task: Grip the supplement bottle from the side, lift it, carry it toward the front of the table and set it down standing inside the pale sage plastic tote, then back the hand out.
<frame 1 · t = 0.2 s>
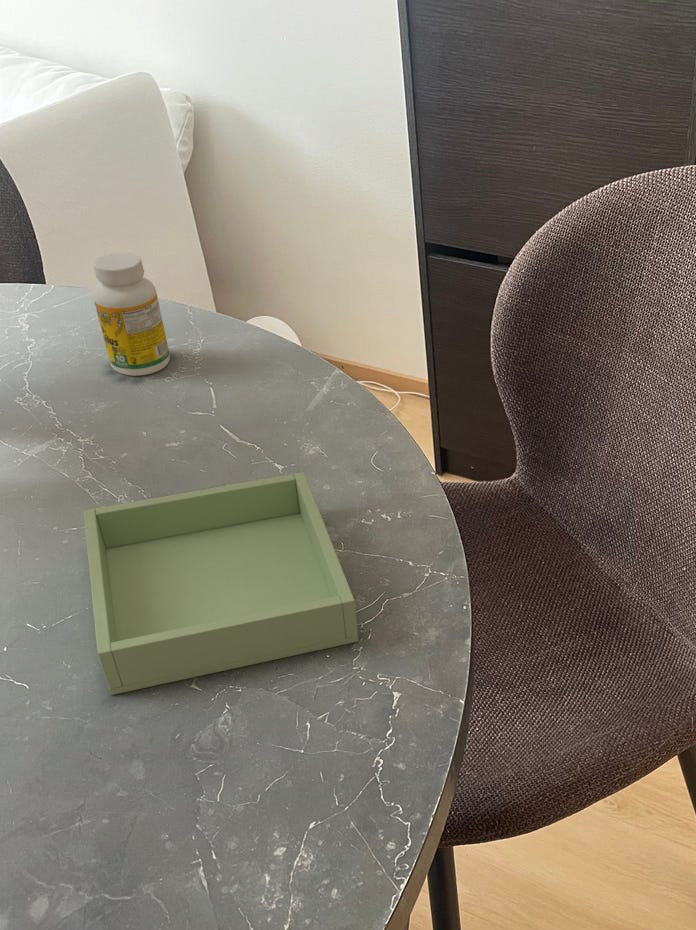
supplement bottle: (141, 365, 96), on the table
tote: (220, 593, 71), on the table
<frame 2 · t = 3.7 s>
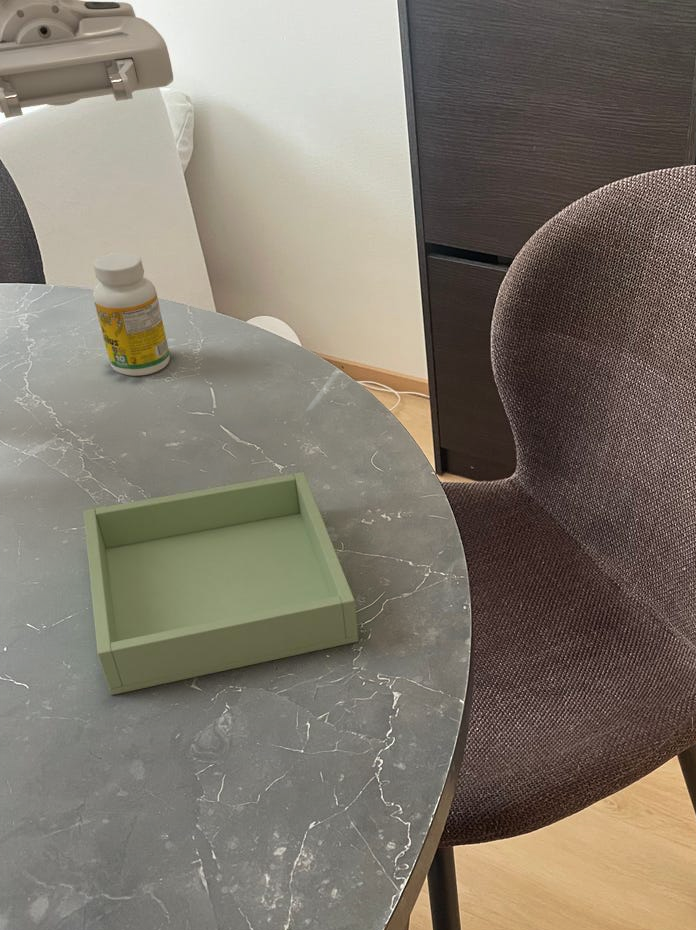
hand: (67, 98, 91), 20 cm above the table, tool horizontal, fingers open, 8 cm apart
nothing on the table moved.
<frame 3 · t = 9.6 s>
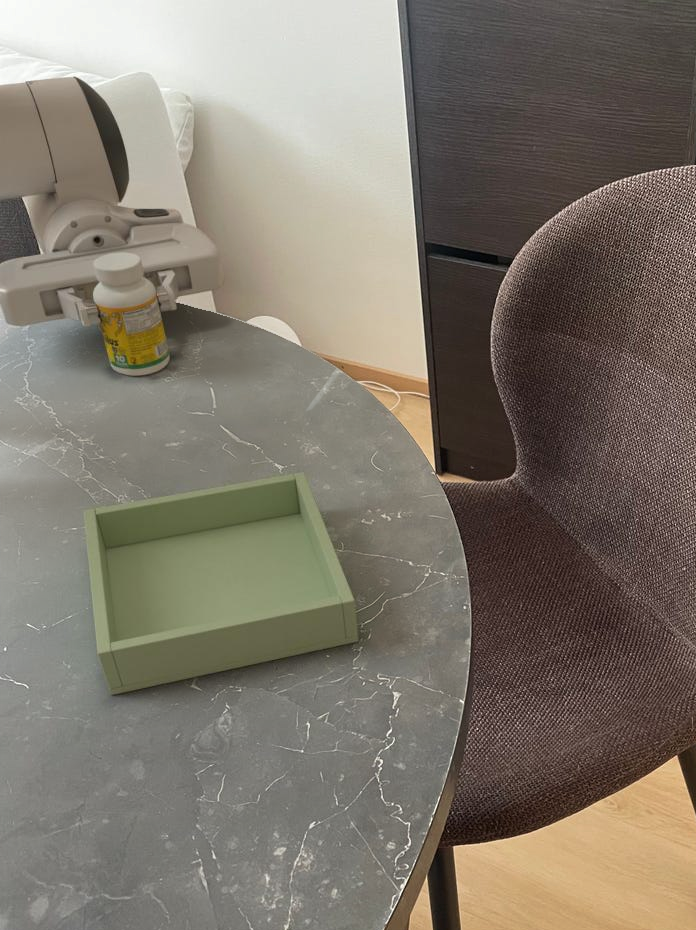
hand: (130, 310, 92), 6 cm above the table, tool horizontal, fingers closed on supplement bottle, 5 cm apart
supplement bottle: (141, 365, 96), on the table, touching gripper
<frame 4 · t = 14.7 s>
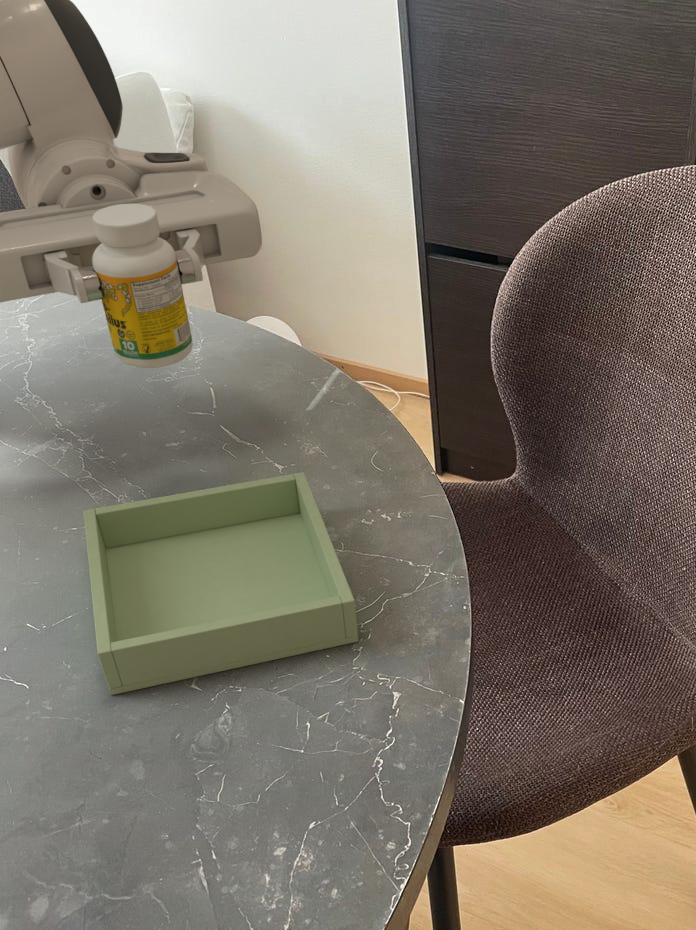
hand: (142, 281, 69), 17 cm above the table, tool horizontal, fingers closed on supplement bottle, 5 cm apart
supplement bottle: (155, 355, 73), point 11 cm above the table, touching gripper
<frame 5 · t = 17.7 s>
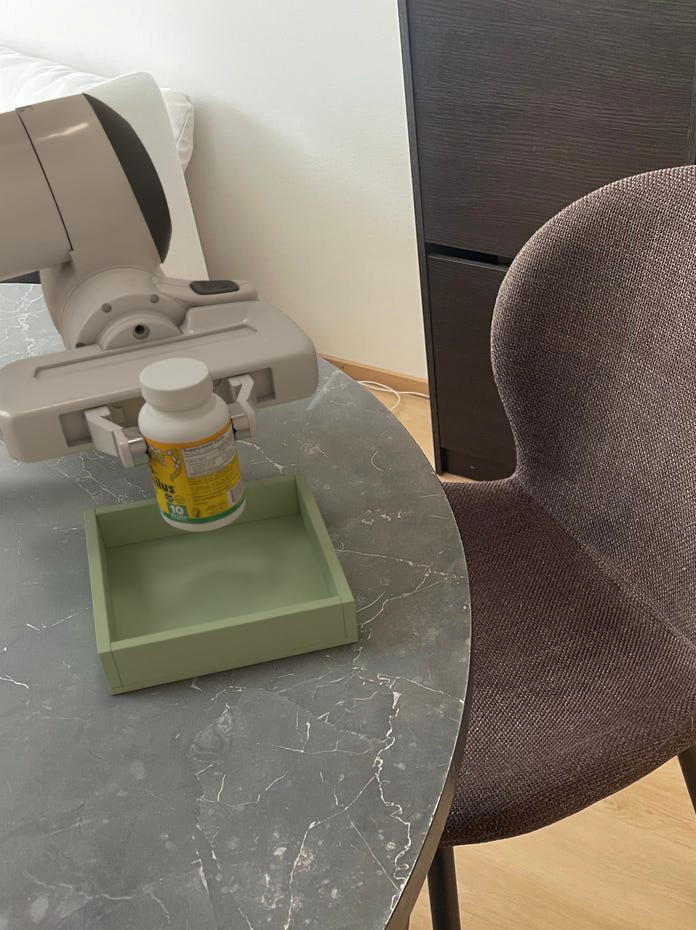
hand: (192, 441, 62), 12 cm above the table, tool horizontal, fingers closed on supplement bottle, 5 cm apart
supplement bottle: (204, 512, 67), point 7 cm above the table, touching gripper
when the fingers open (6 cm above the table, at t = 20.0 s): supplement bottle stays where it is, resting on tote.
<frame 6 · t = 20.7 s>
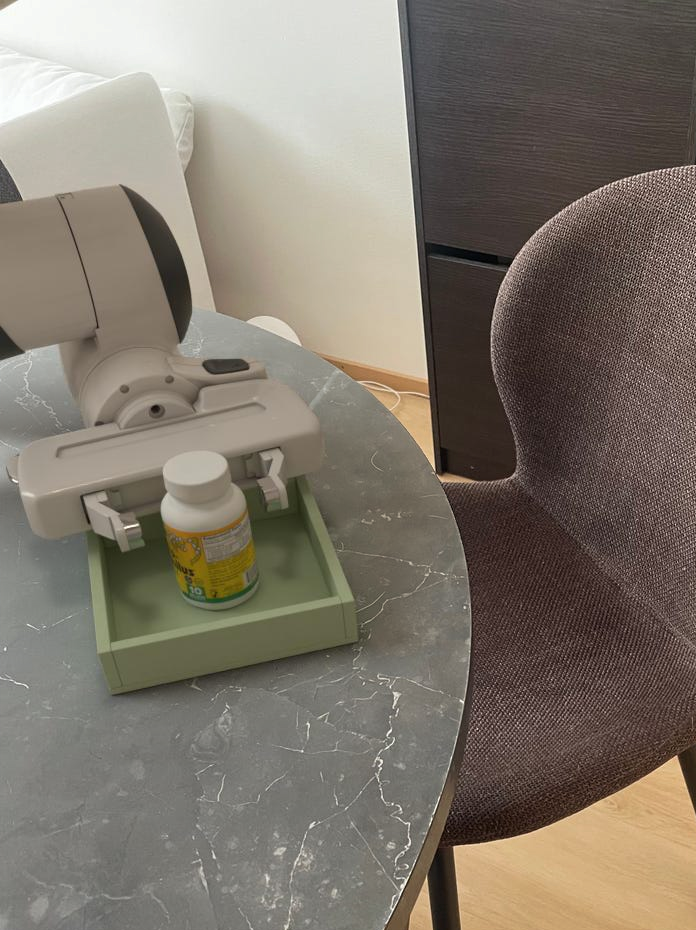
hand: (206, 520, 66), 7 cm above the table, tool horizontal, fingers open, 8 cm apart
supplement bottle: (220, 589, 71), resting on tote
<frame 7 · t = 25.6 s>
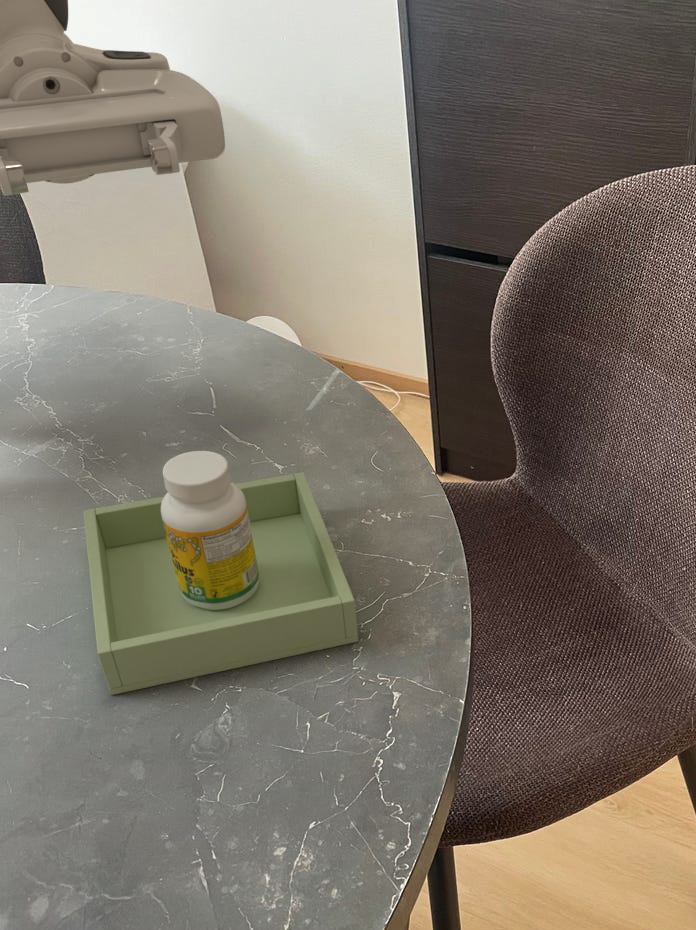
hand: (92, 171, 65), 24 cm above the table, tool horizontal, fingers open, 8 cm apart
nothing on the table moved.
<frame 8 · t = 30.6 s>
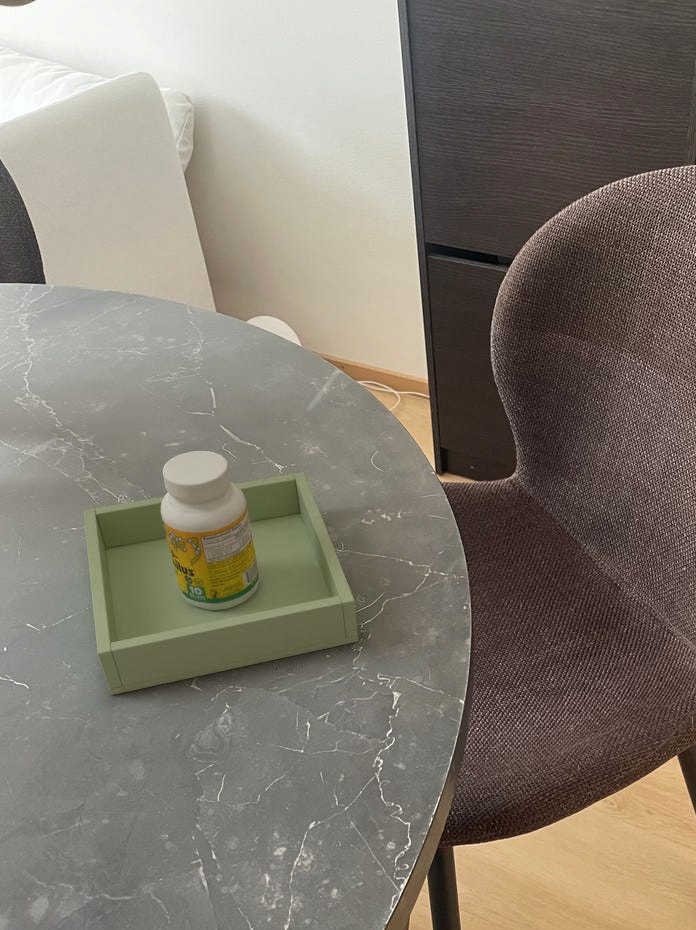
nothing on the table moved.
at the end: supplement bottle inside the target area in the tote (0.1 cm from its centre), point 0.3 cm above the tote's base; supplement bottle tilted 0°; the gripper is holding nothing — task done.
